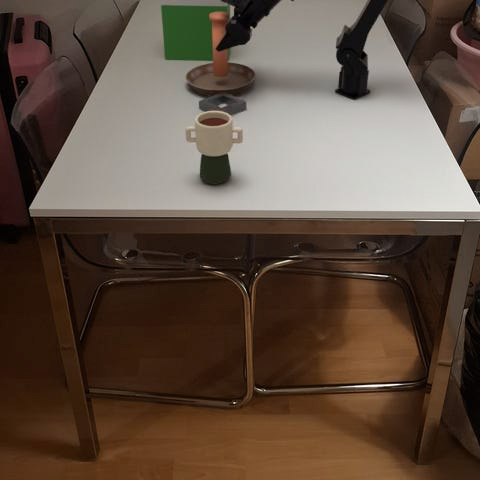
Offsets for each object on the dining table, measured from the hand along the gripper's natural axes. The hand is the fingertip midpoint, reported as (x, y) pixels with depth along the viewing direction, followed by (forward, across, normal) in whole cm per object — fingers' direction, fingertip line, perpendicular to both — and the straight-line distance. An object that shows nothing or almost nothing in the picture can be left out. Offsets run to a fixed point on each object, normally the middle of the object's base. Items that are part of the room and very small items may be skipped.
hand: (220, 43), depth 159 cm
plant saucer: (+8, 0, +8) cm, 11 cm away
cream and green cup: (+3, +46, +13) cm, 47 cm away
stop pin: (+6, 0, +6) cm, 8 cm away
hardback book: (+15, -20, +1) cm, 25 cm away
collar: (+6, +14, +10) cm, 18 cm away
